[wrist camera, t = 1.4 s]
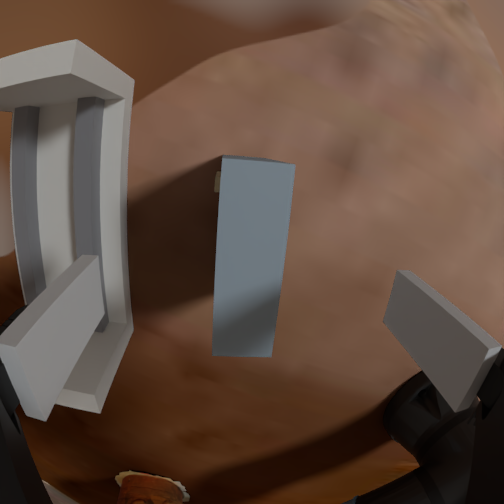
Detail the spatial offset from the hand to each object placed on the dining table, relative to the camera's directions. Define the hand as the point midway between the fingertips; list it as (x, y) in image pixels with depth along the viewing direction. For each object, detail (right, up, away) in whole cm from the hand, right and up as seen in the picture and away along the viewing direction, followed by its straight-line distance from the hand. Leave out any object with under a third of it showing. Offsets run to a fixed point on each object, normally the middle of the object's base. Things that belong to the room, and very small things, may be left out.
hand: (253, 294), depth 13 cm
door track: (-17, +5, +13) cm, 22 cm away
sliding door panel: (-1, +5, +15) cm, 15 cm away
